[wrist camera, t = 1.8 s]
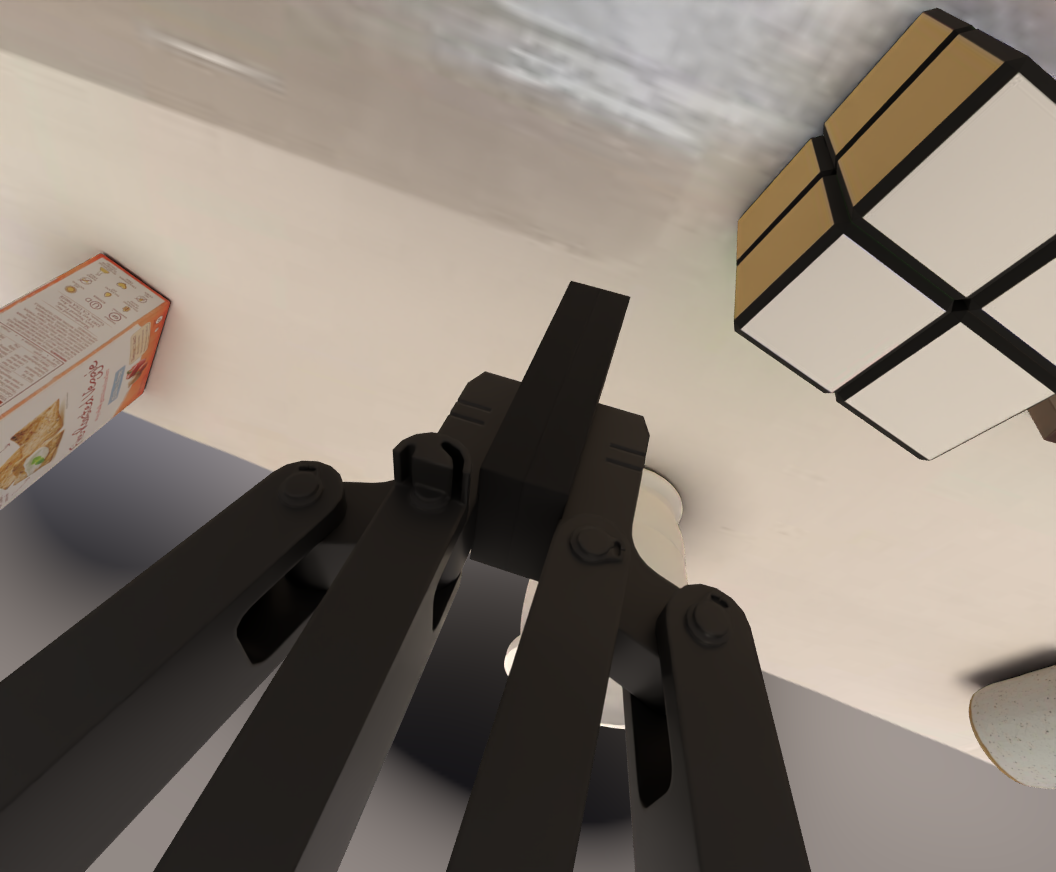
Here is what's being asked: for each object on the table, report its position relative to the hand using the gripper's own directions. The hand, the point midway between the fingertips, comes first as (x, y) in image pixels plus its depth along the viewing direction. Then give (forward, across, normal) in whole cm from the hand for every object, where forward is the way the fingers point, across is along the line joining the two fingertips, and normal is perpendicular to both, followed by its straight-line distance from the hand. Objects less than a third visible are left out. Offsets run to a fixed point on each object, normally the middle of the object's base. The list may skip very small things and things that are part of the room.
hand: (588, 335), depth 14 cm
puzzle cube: (+17, +11, 0) cm, 20 cm away
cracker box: (+17, -38, -23) cm, 47 cm away
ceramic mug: (+17, +41, -31) cm, 54 cm away
